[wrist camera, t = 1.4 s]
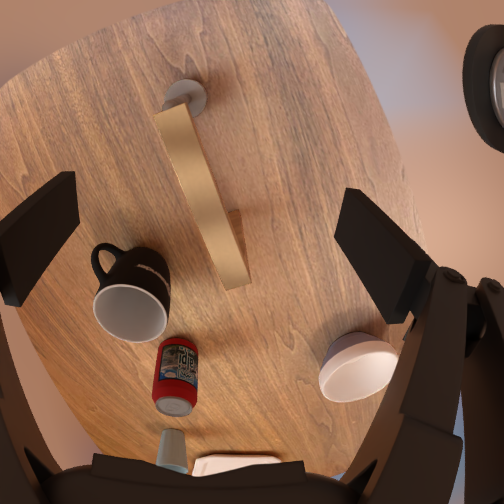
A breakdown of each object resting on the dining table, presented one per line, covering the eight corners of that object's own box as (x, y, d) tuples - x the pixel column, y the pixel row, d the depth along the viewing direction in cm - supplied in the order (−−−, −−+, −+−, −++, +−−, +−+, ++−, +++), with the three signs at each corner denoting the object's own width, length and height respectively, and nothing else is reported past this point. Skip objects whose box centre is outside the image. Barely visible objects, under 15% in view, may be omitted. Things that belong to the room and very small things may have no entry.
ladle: (162, 87, 31) (129, 93, 19) (200, 73, 30) (188, 69, 19) (215, 225, 40) (215, 294, 28) (249, 214, 40) (262, 280, 28)
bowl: (369, 369, 60) (381, 397, 53) (303, 374, 58) (311, 406, 51) (396, 317, 52) (413, 346, 46) (322, 319, 50) (335, 354, 44)
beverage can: (205, 344, 51) (205, 405, 41) (187, 365, 53) (184, 423, 43) (168, 328, 48) (161, 390, 38) (152, 352, 51) (143, 410, 41)
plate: (262, 477, 89) (263, 482, 87) (190, 475, 84) (190, 481, 83) (284, 450, 77) (286, 457, 75) (197, 449, 73) (197, 456, 71)
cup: (189, 440, 69) (189, 475, 60) (160, 438, 68) (157, 473, 59) (187, 427, 66) (187, 465, 57) (155, 425, 65) (152, 463, 56)
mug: (189, 272, 43) (184, 323, 35) (144, 301, 45) (132, 352, 37) (130, 208, 38) (106, 249, 29) (87, 245, 40) (59, 290, 31)
